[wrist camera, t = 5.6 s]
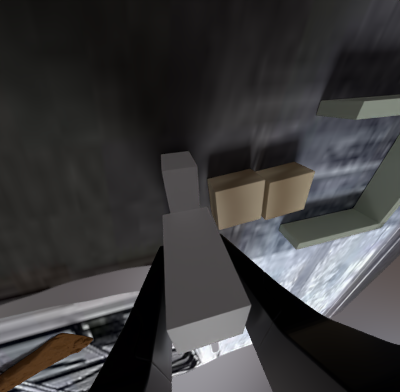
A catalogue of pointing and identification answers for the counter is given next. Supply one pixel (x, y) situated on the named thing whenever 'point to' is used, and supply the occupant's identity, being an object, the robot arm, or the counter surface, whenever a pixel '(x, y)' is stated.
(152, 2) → the counter surface
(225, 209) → the chip
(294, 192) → the chip
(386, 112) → the green u-shaped frame
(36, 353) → the primitive tool
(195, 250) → the grey stepped block
